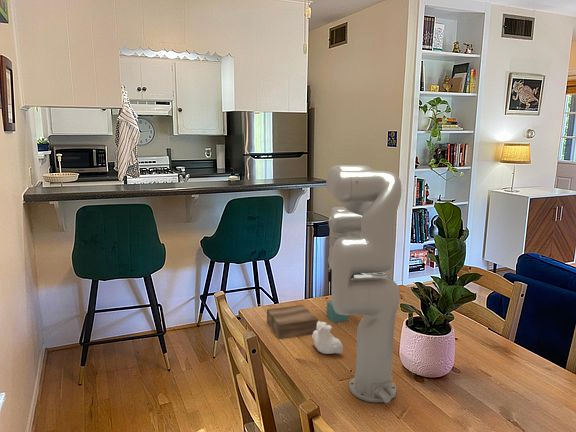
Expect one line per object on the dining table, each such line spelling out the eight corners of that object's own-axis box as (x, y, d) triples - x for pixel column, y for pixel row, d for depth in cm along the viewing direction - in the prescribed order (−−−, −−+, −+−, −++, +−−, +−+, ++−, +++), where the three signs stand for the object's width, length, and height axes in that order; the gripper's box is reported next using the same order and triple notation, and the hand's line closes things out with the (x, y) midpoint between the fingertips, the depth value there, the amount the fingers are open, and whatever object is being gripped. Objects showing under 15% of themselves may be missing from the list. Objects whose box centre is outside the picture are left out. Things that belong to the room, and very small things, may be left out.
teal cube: (348, 320, 169) (348, 305, 168) (333, 322, 167) (334, 307, 166) (341, 314, 175) (341, 299, 174) (326, 316, 173) (327, 301, 171)
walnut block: (317, 332, 158) (317, 319, 158) (279, 338, 154) (279, 324, 153) (302, 317, 171) (302, 304, 170) (266, 322, 167) (266, 309, 166)
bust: (311, 351, 150) (296, 331, 144) (324, 332, 153) (310, 313, 147) (339, 365, 142) (325, 345, 135) (352, 345, 145) (338, 324, 138)
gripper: (360, 246, 159) (358, 293, 162) (338, 234, 175) (337, 277, 178) (341, 248, 156) (339, 295, 160) (320, 236, 172) (319, 279, 176)
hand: (338, 285), depth 169 cm, fingers open, 9 cm apart
